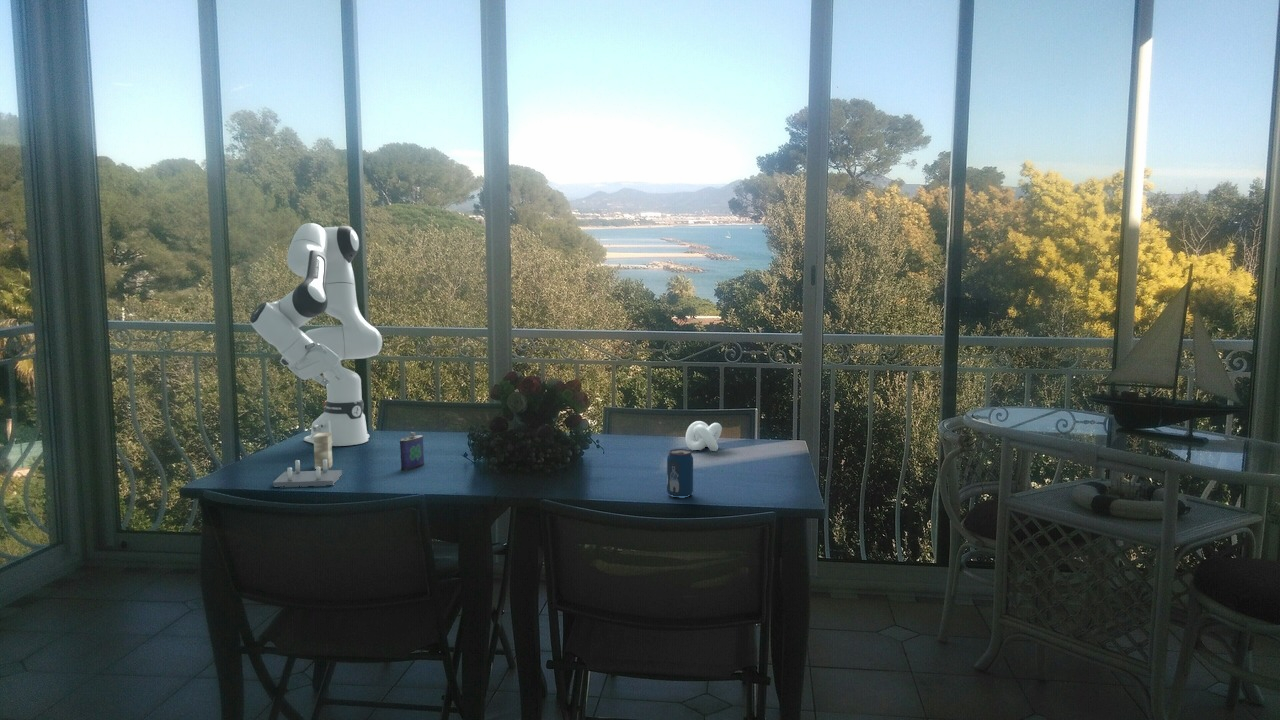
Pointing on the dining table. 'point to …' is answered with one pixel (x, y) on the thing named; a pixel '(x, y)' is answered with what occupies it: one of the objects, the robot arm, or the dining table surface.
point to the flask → (412, 451)
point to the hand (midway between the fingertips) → (334, 381)
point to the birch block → (322, 449)
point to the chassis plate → (307, 477)
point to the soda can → (680, 472)
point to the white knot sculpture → (703, 436)
